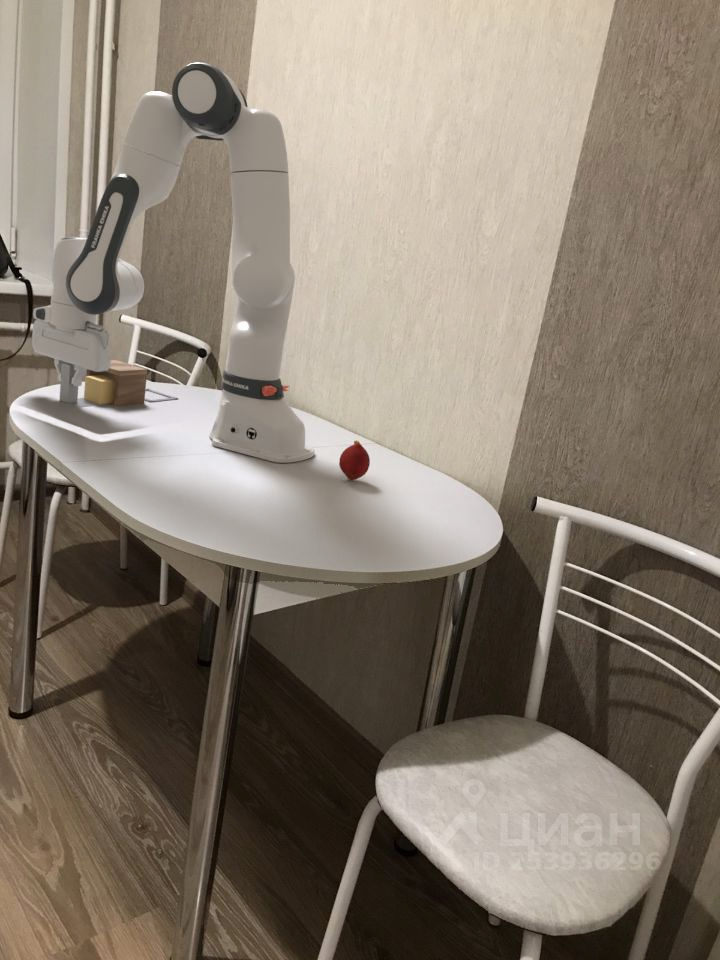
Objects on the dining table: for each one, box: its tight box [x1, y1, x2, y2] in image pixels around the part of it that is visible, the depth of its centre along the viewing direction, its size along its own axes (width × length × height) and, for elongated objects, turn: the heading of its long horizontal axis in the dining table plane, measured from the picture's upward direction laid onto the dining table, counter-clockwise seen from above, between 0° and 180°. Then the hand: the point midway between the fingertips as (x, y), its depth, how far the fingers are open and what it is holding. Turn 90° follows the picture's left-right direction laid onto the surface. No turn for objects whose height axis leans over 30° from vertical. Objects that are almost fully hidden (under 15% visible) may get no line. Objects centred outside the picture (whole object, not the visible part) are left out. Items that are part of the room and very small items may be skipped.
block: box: [83, 375, 116, 405], centre depth 162 cm, size 5×5×5 cm
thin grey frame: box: [144, 388, 179, 403], centre depth 175 cm, size 10×9×2 cm
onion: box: [338, 440, 371, 482], centre depth 141 cm, size 6×6×8 cm
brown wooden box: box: [85, 359, 148, 407], centre depth 165 cm, size 10×8×9 cm
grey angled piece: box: [59, 363, 114, 408], centre depth 161 cm, size 6×15×9 cm, turn 150°
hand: (69, 383), depth 156 cm, fingers closed on grey angled piece, 2 cm apart
